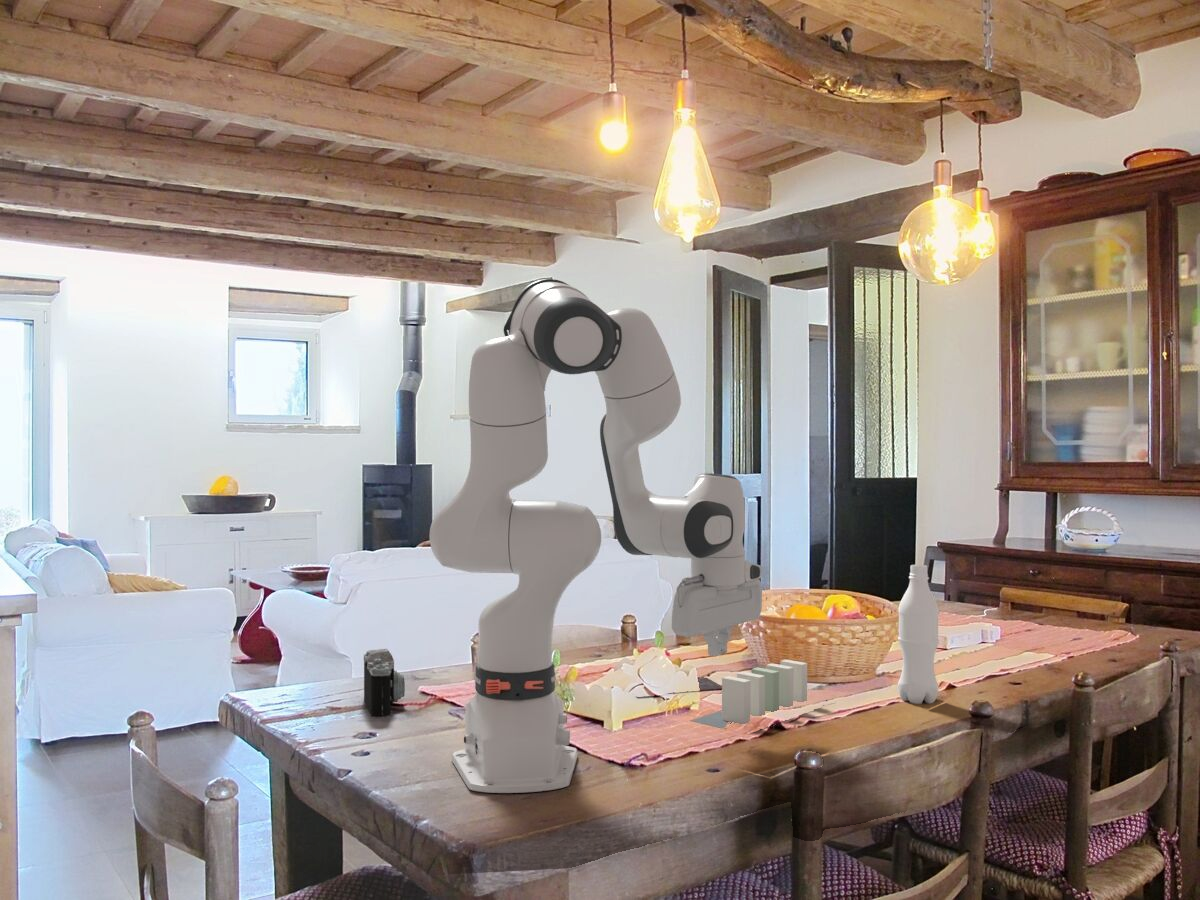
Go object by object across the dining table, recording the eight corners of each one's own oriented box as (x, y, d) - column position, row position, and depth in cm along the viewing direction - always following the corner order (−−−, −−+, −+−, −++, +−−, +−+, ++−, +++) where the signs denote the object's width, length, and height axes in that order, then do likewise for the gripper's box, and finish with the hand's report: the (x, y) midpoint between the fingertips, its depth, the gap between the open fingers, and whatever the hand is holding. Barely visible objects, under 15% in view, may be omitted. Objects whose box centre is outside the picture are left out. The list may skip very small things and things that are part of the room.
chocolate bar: (725, 688, 199) (636, 695, 193) (725, 693, 199) (636, 700, 193) (706, 677, 207) (621, 684, 202) (706, 682, 207) (621, 689, 202)
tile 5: (801, 704, 188) (801, 664, 187) (780, 700, 191) (780, 660, 191) (807, 702, 189) (807, 663, 189) (785, 698, 192) (785, 659, 192)
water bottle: (940, 699, 193) (941, 564, 192) (935, 708, 186) (936, 569, 186) (900, 694, 196) (901, 562, 196) (894, 703, 189) (895, 566, 189)
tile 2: (759, 719, 178) (759, 677, 178) (736, 714, 181) (737, 673, 181) (765, 717, 179) (765, 675, 179) (742, 712, 182) (743, 671, 182)
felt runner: (748, 736, 169) (748, 734, 169) (689, 722, 177) (689, 720, 177) (836, 703, 189) (836, 702, 189) (780, 692, 198) (780, 690, 198)
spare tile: (773, 714, 181) (773, 673, 181) (751, 709, 184) (751, 668, 184) (778, 712, 182) (779, 671, 182) (757, 707, 185) (757, 667, 185)
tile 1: (744, 725, 174) (744, 682, 174) (721, 719, 177) (722, 677, 177) (750, 722, 176) (750, 680, 176) (728, 717, 179) (728, 676, 179)
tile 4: (787, 709, 184) (788, 668, 184) (766, 704, 187) (766, 664, 187) (793, 707, 186) (793, 667, 185) (771, 702, 189) (771, 663, 189)
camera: (409, 715, 181) (409, 658, 181) (370, 718, 179) (370, 660, 179) (398, 695, 195) (398, 642, 195) (361, 698, 193) (361, 644, 193)
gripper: (693, 581, 162) (693, 669, 162) (768, 566, 176) (768, 647, 177) (662, 577, 166) (662, 662, 167) (738, 562, 181) (738, 641, 181)
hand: (717, 654), depth 172 cm, fingers closed
